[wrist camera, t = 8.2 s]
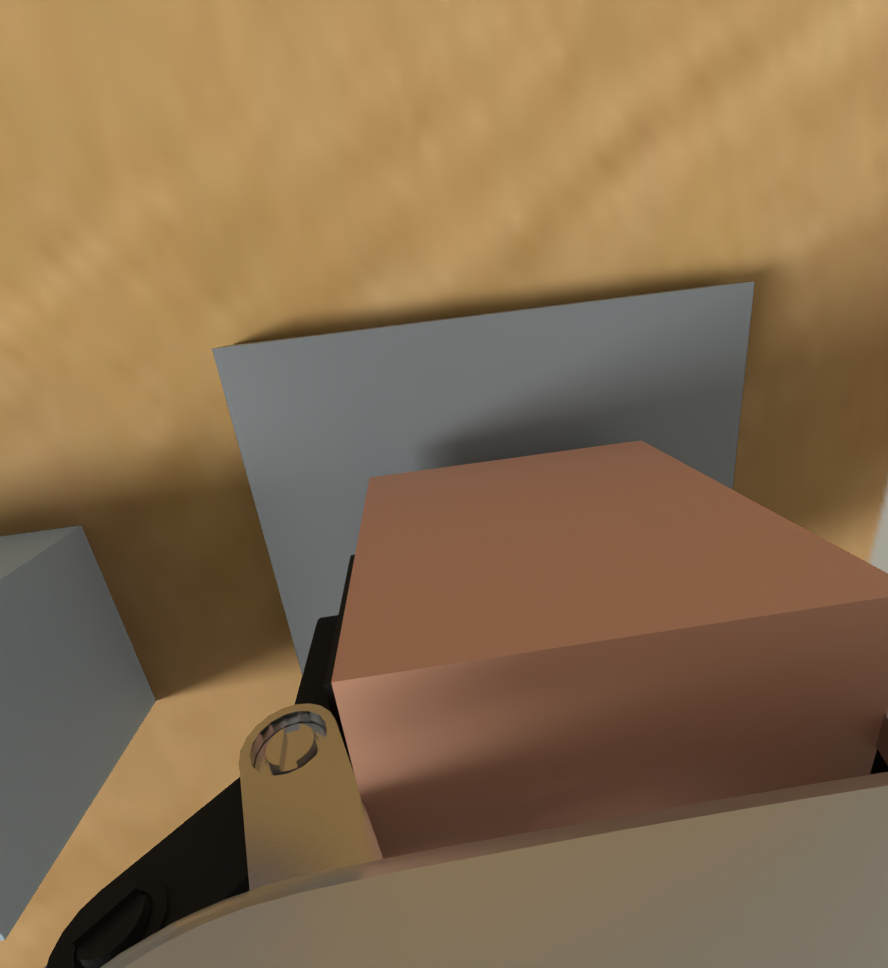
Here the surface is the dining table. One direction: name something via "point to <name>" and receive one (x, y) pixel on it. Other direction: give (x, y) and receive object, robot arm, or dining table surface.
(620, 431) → the base plate
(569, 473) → the brick terracotta
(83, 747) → the brick blue
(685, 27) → the dining table surface
